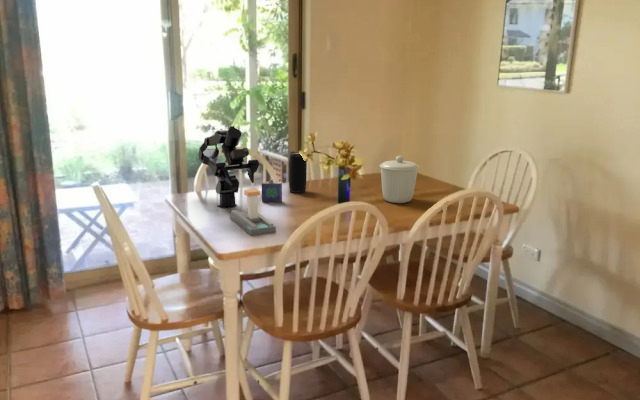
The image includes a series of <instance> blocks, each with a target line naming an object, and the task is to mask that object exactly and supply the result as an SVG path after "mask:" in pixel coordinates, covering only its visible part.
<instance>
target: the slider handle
mask: <svg viewBox="0 0 640 400" xmlns="http://www.w3.org/2000/svg"><path fill="white" fill-rule="evenodd" d="M243 193H244V195H245V196H246V201H247V203H246V204H247V206H246V207H247V208H246V210H247V209H248V216H246V218H247V219H249V220H250V221H251V222H258V221H260V218H259V217H258V213H259V212H258V210H259V209H258V208H259V207H258V197H259V196H261V191H260V190H259V189H257V188H256V189H255V188H253V189H252V188H251V189H245V190H243Z"/></svg>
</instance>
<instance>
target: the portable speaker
mask: <svg viewBox="0 0 640 400" xmlns="http://www.w3.org/2000/svg"><path fill="white" fill-rule="evenodd" d="M299 152H300V151H295V150H294V151H290V152H289V159H288V186H289V193H291V194H294V193H299V194H304V193H306V190H307V189H306V188H307V175H308V173H307V171H308V170H307V167H308V164H307V160H306V161H304V160H303V158H302V156H301V155H300V154H299Z"/></svg>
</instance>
